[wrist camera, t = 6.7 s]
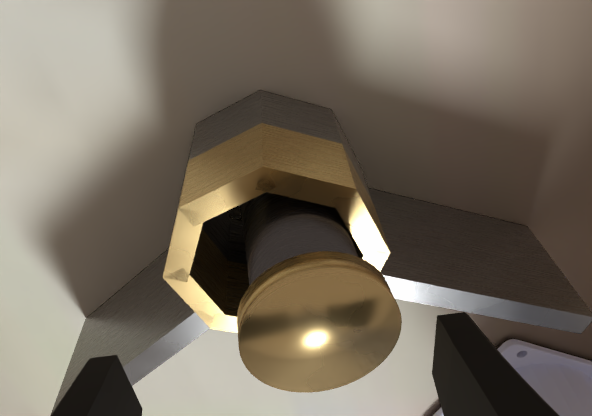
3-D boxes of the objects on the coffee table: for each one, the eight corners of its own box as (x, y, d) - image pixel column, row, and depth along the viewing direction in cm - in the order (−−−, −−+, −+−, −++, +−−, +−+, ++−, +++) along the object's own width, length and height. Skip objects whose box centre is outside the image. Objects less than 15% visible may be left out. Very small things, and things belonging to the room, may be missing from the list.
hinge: (564, 173, 19) (648, 258, 15) (421, 376, 26) (453, 474, 22) (119, 51, 16) (71, 120, 11) (84, 325, 22) (46, 431, 18)
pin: (346, 142, 18) (431, 294, 11) (304, 226, 20) (356, 400, 13) (246, 109, 17) (276, 257, 10) (211, 201, 18) (216, 380, 12)
